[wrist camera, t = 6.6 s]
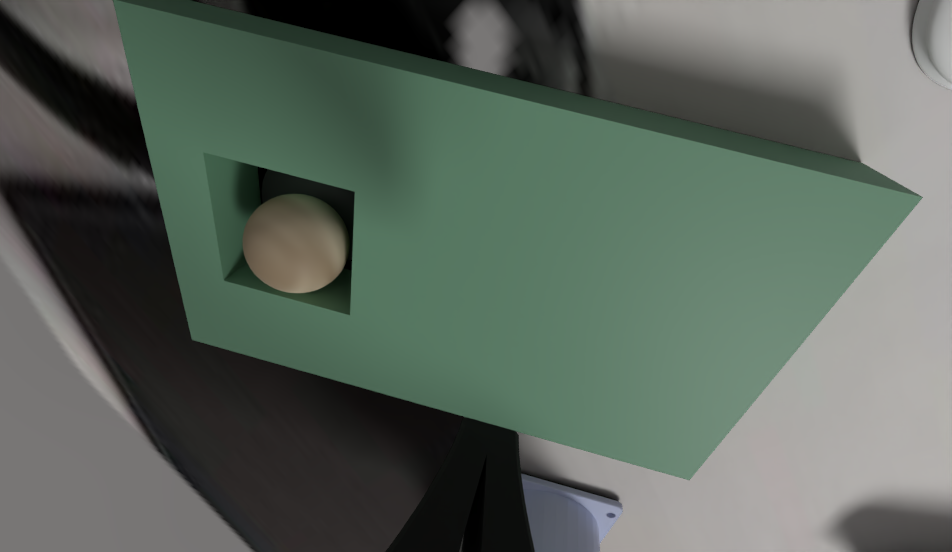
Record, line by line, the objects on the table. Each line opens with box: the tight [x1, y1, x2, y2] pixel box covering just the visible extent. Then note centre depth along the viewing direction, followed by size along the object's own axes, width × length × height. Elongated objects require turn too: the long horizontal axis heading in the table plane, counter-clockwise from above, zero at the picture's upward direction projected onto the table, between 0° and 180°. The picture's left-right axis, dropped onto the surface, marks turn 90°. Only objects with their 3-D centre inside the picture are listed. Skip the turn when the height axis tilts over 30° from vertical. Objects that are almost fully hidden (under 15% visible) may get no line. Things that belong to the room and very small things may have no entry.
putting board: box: [113, 0, 923, 480], centre depth 18 cm, size 24×14×3 cm, turn 79°
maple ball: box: [243, 194, 350, 293], centre depth 18 cm, size 4×4×4 cm
